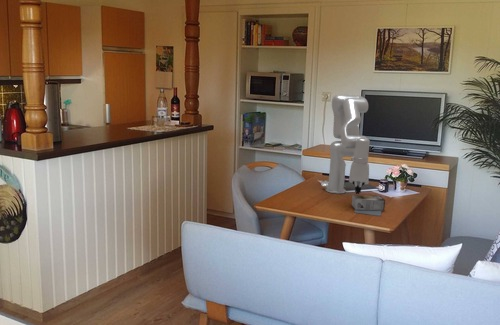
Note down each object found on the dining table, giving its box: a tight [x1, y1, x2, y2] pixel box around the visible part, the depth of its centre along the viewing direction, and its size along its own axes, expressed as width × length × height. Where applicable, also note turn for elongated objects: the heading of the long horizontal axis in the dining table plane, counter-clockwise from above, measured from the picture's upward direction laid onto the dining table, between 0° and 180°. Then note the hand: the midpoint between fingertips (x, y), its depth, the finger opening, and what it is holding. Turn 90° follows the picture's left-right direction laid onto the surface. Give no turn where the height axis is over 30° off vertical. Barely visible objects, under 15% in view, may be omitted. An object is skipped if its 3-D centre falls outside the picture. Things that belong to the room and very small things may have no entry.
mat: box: [353, 208, 383, 217], centre depth 284 cm, size 14×14×1 cm
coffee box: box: [351, 194, 386, 212], centre depth 288 cm, size 9×6×16 cm
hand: (357, 193), depth 284 cm, fingers closed
